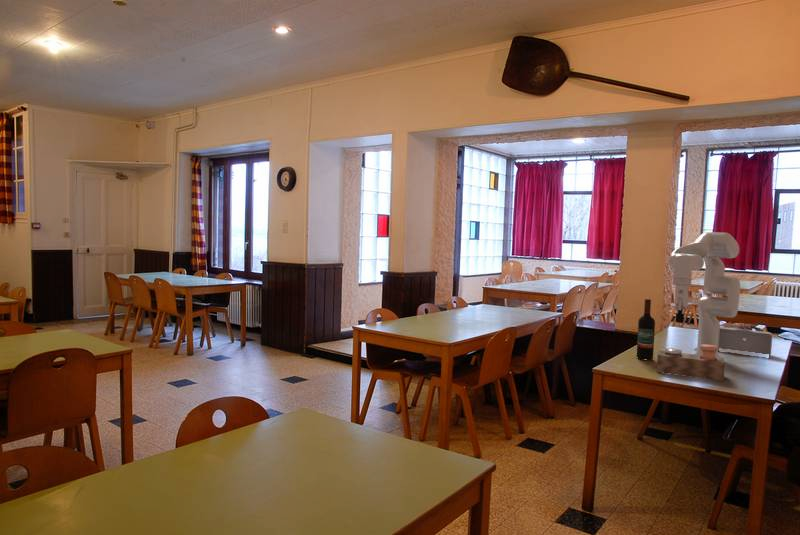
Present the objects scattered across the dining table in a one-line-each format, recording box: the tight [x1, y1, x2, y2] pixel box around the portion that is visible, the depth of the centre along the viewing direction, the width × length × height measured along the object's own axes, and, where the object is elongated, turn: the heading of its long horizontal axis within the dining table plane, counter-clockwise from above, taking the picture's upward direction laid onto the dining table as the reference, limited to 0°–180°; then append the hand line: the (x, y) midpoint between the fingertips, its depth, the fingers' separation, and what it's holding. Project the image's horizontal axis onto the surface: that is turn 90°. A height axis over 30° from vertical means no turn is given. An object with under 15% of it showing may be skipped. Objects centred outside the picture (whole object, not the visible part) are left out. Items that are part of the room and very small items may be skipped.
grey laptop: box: [719, 326, 773, 359], centre depth 288 cm, size 25×16×12 cm, turn 53°
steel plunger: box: [664, 347, 683, 356], centre depth 244 cm, size 7×7×9 cm
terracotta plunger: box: [700, 344, 718, 361], centre depth 237 cm, size 7×7×9 cm
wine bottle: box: [636, 298, 656, 361], centre depth 267 cm, size 8×8×30 cm
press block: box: [656, 349, 726, 382], centre depth 241 cm, size 26×11×8 cm, turn 61°
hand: (679, 322), depth 242 cm, fingers closed
